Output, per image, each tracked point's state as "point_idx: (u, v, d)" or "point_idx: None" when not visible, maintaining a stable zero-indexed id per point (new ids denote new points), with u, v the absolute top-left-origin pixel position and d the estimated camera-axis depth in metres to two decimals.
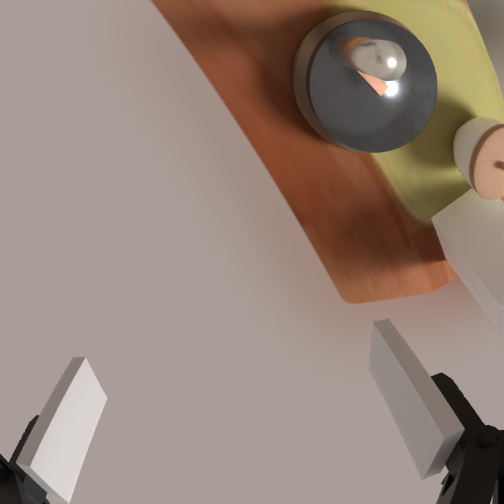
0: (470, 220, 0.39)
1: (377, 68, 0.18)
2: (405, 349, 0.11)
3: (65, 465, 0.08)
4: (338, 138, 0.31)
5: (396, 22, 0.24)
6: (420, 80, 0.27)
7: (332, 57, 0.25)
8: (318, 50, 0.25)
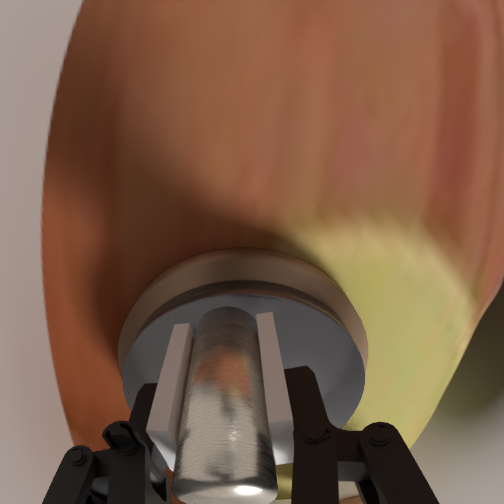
0: None
1: (187, 493, 0.07)
2: (272, 340, 0.13)
3: None
4: None
5: (358, 324, 0.19)
6: None
7: (195, 334, 0.15)
8: (184, 306, 0.15)
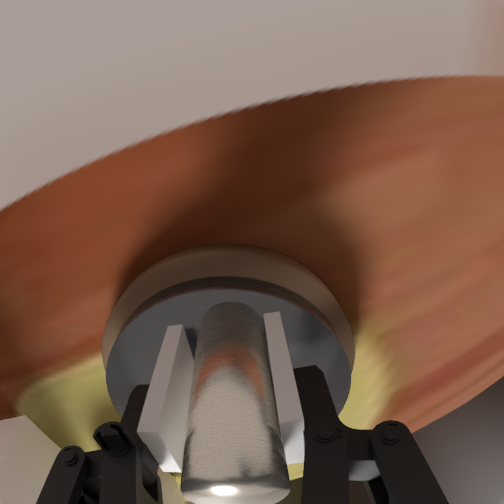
0: (40, 474, 0.21)
1: (197, 489, 0.07)
2: (280, 339, 0.13)
3: (178, 431, 0.10)
4: (113, 399, 0.17)
5: None
6: None
7: (200, 324, 0.15)
8: (193, 294, 0.15)
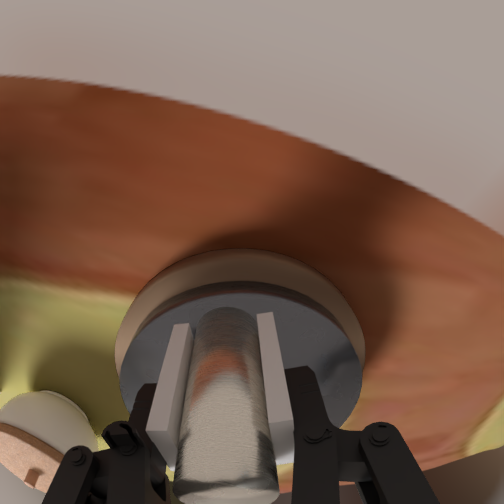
0: None
1: (188, 493, 0.07)
2: (272, 340, 0.13)
3: None
4: None
5: None
6: None
7: (195, 333, 0.15)
8: (185, 305, 0.15)
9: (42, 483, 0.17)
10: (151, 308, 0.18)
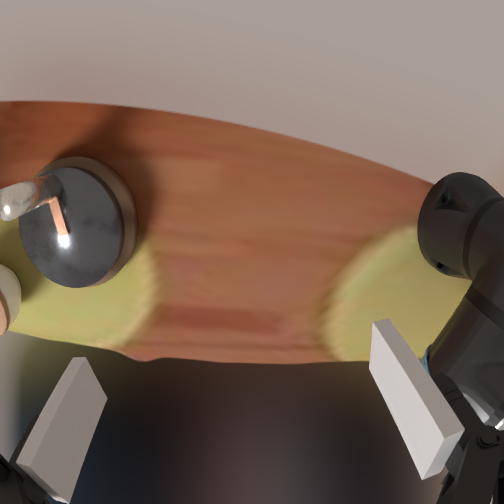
0: None
1: None
2: (405, 349, 0.11)
3: (65, 465, 0.08)
4: (25, 248, 0.34)
5: (108, 278, 0.38)
6: (100, 244, 0.34)
7: None
8: (37, 177, 0.31)
9: None
10: None
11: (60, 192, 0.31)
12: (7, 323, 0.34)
